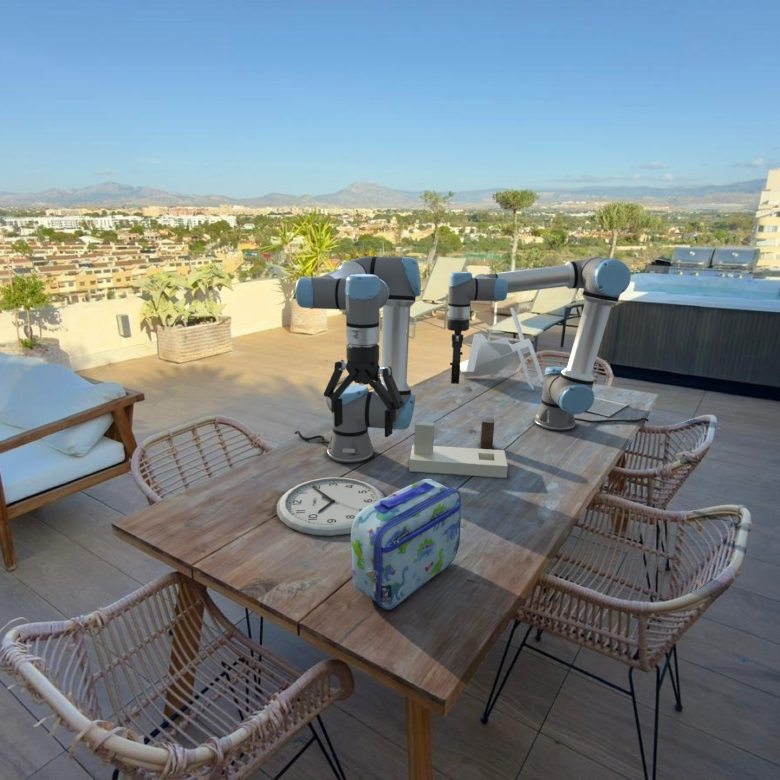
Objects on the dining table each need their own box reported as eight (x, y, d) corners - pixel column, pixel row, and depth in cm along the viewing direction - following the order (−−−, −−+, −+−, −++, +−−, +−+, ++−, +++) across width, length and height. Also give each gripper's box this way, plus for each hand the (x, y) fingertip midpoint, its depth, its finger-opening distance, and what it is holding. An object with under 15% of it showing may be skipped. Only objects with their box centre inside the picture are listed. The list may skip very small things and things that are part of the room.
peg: (491, 445, 184) (493, 418, 181) (492, 449, 180) (494, 422, 178) (480, 444, 185) (481, 418, 182) (480, 449, 181) (482, 422, 178)
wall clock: (392, 527, 129) (268, 531, 127) (391, 533, 130) (269, 537, 127) (383, 473, 158) (282, 475, 155) (383, 478, 158) (282, 480, 156)
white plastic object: (480, 419, 265) (459, 396, 241) (461, 346, 287) (441, 319, 263) (551, 395, 253) (536, 368, 228) (526, 321, 275) (510, 290, 251)
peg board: (503, 461, 172) (506, 421, 167) (506, 478, 160) (510, 435, 156) (412, 455, 175) (413, 416, 171) (409, 471, 164) (410, 429, 159)
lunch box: (380, 623, 100) (381, 528, 94) (344, 596, 108) (343, 505, 101) (464, 565, 118) (470, 482, 112) (428, 545, 125) (432, 466, 119)
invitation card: (608, 416, 214) (573, 407, 224) (608, 416, 214) (573, 408, 224) (628, 404, 229) (594, 396, 238) (628, 405, 229) (594, 397, 238)
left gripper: (307, 341, 121) (310, 426, 128) (406, 353, 111) (404, 445, 118) (324, 335, 128) (326, 416, 134) (419, 346, 118) (416, 433, 124)
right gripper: (448, 312, 191) (446, 368, 197) (445, 324, 167) (443, 387, 173) (469, 312, 190) (466, 369, 196) (469, 325, 166) (466, 388, 172)
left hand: (363, 430), depth 126 cm, fingers open, 13 cm apart
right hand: (455, 378), depth 185 cm, fingers open, 13 cm apart
